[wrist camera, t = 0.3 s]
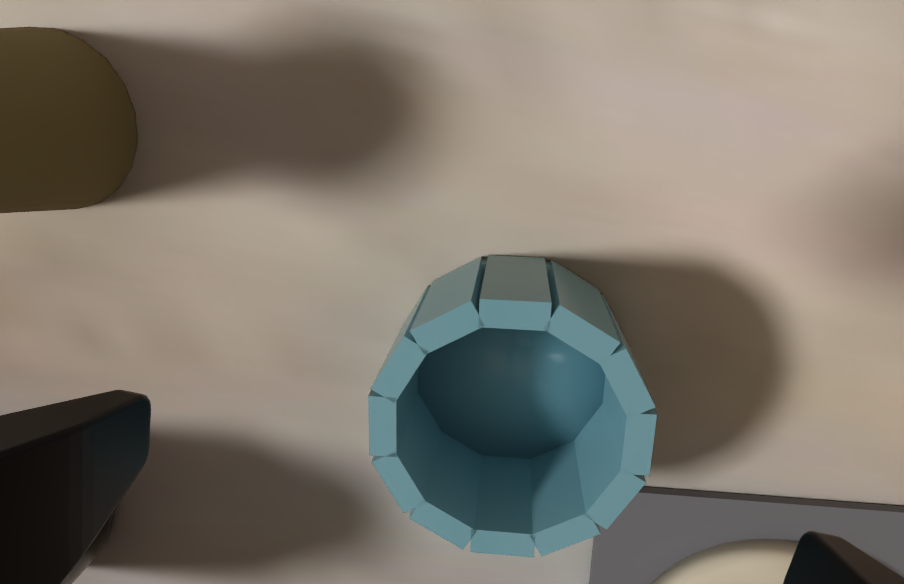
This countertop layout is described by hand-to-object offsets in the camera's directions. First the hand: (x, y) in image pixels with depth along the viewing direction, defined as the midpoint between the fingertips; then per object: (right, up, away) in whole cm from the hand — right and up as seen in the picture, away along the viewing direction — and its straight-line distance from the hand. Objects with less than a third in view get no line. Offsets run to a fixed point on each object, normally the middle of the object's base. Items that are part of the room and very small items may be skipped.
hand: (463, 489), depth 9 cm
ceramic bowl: (+2, 0, +14) cm, 14 cm away
